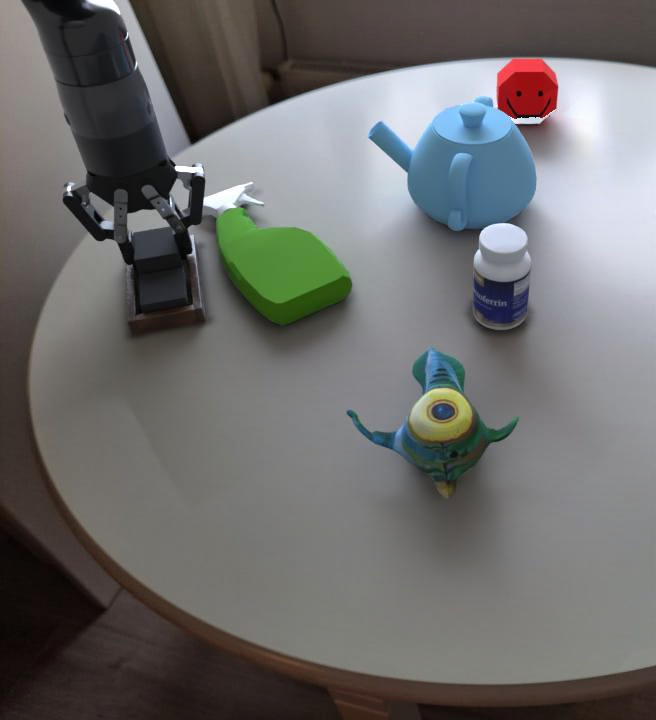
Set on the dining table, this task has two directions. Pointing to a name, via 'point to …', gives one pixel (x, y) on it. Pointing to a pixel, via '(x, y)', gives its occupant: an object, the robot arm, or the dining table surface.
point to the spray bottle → (275, 261)
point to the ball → (527, 89)
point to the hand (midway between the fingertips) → (160, 259)
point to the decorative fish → (440, 424)
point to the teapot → (465, 165)
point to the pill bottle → (501, 277)
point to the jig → (169, 316)
